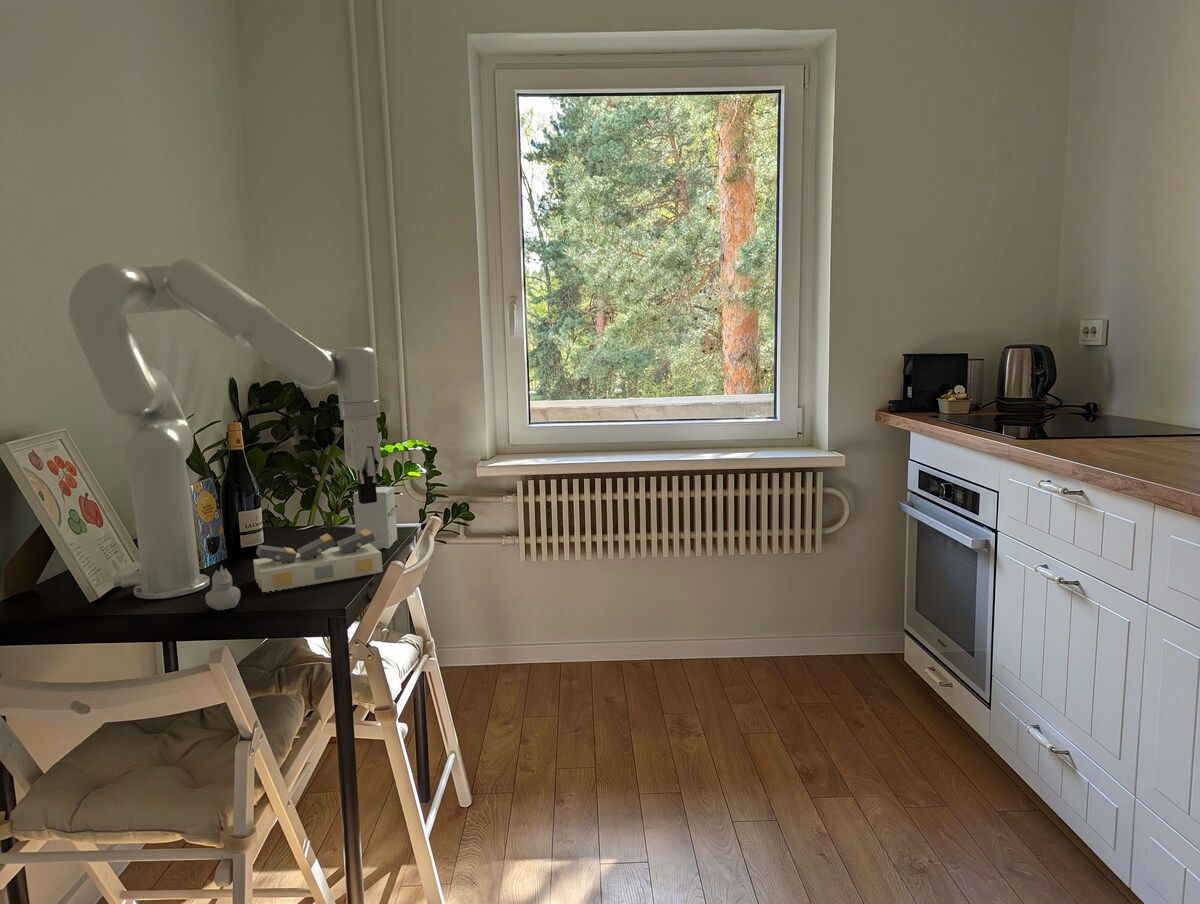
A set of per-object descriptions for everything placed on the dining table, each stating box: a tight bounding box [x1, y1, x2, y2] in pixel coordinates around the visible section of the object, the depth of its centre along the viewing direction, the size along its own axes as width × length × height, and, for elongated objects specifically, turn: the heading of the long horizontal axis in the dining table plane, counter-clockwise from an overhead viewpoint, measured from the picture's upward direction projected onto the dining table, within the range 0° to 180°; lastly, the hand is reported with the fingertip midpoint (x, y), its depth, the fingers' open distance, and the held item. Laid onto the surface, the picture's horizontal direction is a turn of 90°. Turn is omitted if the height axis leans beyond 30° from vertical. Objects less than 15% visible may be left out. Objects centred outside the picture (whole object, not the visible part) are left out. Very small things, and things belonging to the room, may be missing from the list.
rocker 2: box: [296, 533, 337, 561], centre depth 157 cm, size 6×5×2 cm
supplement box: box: [352, 486, 398, 550], centre depth 179 cm, size 7×7×13 cm
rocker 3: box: [336, 529, 375, 553], centre depth 160 cm, size 6×5×2 cm
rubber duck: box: [204, 564, 241, 611], centre depth 139 cm, size 5×7×8 cm
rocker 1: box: [255, 544, 297, 562], centre depth 153 cm, size 6×5×2 cm
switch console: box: [252, 543, 384, 593], centre depth 157 cm, size 22×10×5 cm, turn 120°
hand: (368, 502), depth 161 cm, fingers closed
